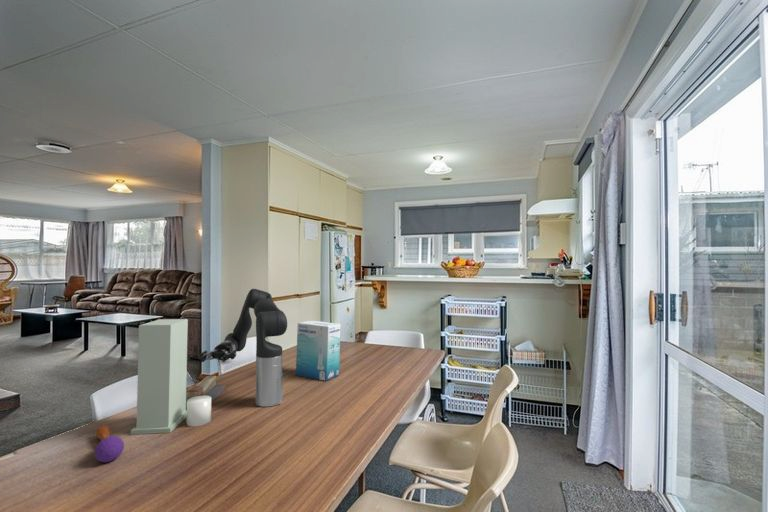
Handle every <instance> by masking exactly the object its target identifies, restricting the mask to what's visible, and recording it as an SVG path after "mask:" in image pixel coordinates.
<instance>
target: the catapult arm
mask: <svg viewBox="0 0 768 512" xmlns="http://www.w3.org/2000/svg"><path fill="white" fill-rule="evenodd" d="M214 386H217V376H216V375H207V376H206V377H204V378H203V379H202V380H201V381H199V382H198V383H197V384H196V385H190V386H189V387H188V388H186V403H187V400H189V399H190V398H193V397H197V396H204V395H205V394H206V393H207V392H208V391H209V390H210V389H211V388H212V387H214Z"/></svg>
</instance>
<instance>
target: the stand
mask: <svg viewBox="0 0 768 512" xmlns="http://www.w3.org/2000/svg"><path fill="white" fill-rule="evenodd" d="M188 321H189V320H188V319H187V318H179V319H178V318H171V319H170V318H169V319H167V318H166V319H165V318H164V319H161V318H160V319H156V320H153V321H150V322H147V323H143V324H139V325H138V347H137V349H138V351H137V352H138V353H137V354H138V356H137V389H136V390H137V392H136V395H137V397H136V426H135V427H133V428H132V429H130V435H144V434H145V435H146V434H165V433H168V434H169V433H172V431H174V429H176V428H177V427H178V425H179V424H181V423H182V422H183V421H184V420H185V419H187V410H186V390H187V375H188V374H187V369H188V331H189V328H188V327H189V326H188V323H189V322H188Z"/></svg>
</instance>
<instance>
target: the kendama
mask: <svg viewBox="0 0 768 512" xmlns="http://www.w3.org/2000/svg"><path fill="white" fill-rule="evenodd" d="M110 429H111V428H110V426H108V425H100V426H99V427H98V428H96V430H95V433H94V434H95V437H97V438H98V439H99V440H100V441H99V442H98V443H97V444H96V446H95V448H94V457H95V459H96V461H98V462H100V463H109V462H113V461H114V460H116V459H118V458H119V456H120V455H121V454H122V453H123V451H124V448H125V447H124V446H125V444H124V441H123V440H122V438H121V437H119V436H117V435H110Z"/></svg>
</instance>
